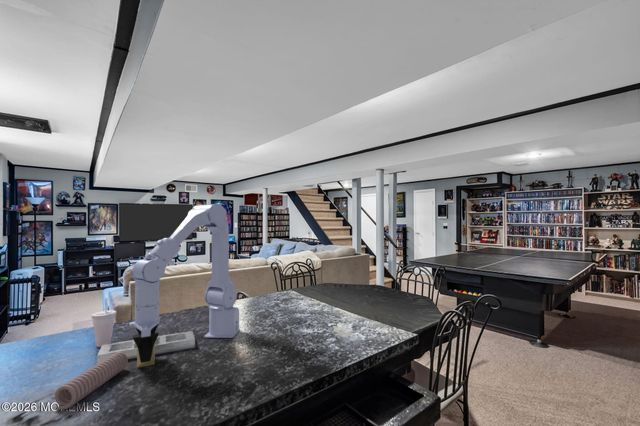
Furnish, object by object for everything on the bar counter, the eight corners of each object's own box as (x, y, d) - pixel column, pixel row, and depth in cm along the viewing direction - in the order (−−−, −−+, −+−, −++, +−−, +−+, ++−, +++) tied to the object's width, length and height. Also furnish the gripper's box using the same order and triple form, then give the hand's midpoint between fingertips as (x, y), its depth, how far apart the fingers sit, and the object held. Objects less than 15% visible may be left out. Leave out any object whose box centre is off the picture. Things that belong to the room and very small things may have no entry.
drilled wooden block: (158, 358, 85) (158, 335, 85) (158, 363, 81) (158, 340, 81) (134, 362, 82) (135, 339, 82) (133, 368, 78) (133, 344, 79)
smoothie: (120, 342, 96) (121, 297, 96) (98, 350, 90) (99, 302, 91) (107, 339, 99) (108, 295, 99) (85, 346, 93) (86, 300, 93)
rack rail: (192, 338, 99) (192, 330, 99) (194, 347, 92) (194, 338, 92) (102, 353, 88) (102, 344, 88) (97, 364, 81) (97, 355, 81)
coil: (111, 351, 79) (49, 388, 61) (129, 349, 79) (72, 386, 61) (113, 369, 79) (50, 412, 61) (131, 367, 79) (73, 410, 61)
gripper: (131, 300, 87) (130, 349, 86) (127, 313, 74) (126, 370, 73) (159, 297, 90) (159, 344, 89) (160, 309, 77) (159, 364, 77)
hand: (146, 355), depth 82 cm, fingers open, 7 cm apart
